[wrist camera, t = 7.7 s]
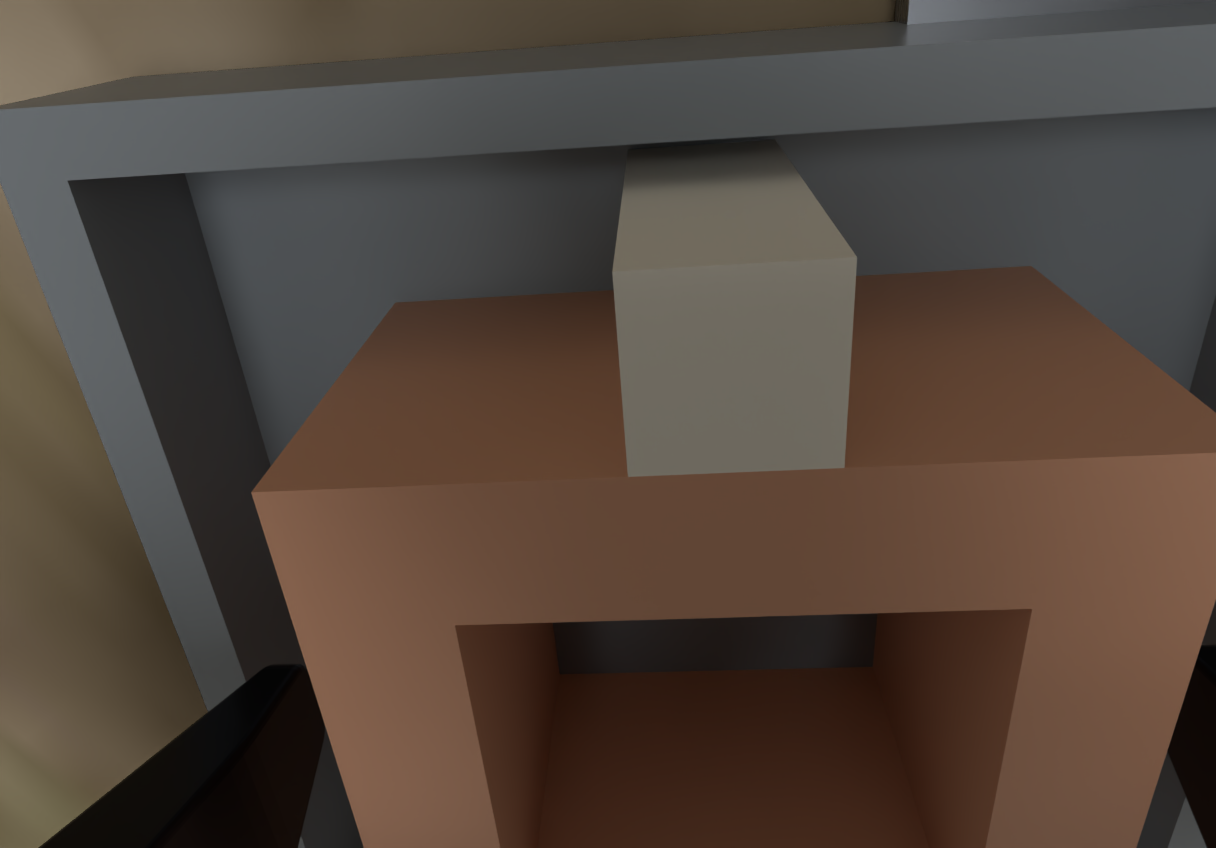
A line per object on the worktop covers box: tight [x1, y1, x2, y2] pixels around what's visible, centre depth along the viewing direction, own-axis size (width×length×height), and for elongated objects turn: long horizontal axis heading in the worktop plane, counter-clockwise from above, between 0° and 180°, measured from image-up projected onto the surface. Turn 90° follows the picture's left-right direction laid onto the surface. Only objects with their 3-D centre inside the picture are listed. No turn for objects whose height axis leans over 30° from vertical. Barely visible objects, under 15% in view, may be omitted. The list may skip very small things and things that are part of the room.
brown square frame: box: [251, 140, 1216, 848], centre depth 9 cm, size 8×7×4 cm
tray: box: [0, 2, 1216, 848], centre depth 11 cm, size 12×12×2 cm
